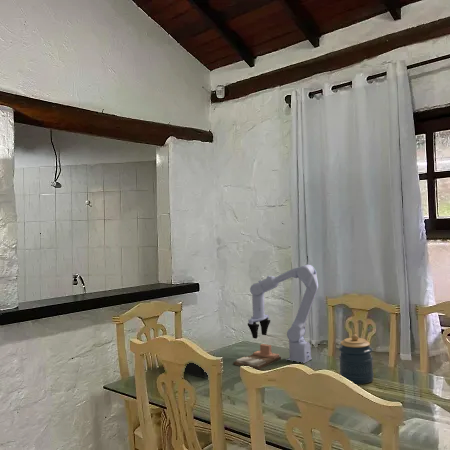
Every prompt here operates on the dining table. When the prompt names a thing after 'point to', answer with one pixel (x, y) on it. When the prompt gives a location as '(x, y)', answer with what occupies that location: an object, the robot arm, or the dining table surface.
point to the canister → (356, 360)
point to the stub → (266, 351)
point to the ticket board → (255, 361)
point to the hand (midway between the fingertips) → (259, 336)
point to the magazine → (195, 370)
